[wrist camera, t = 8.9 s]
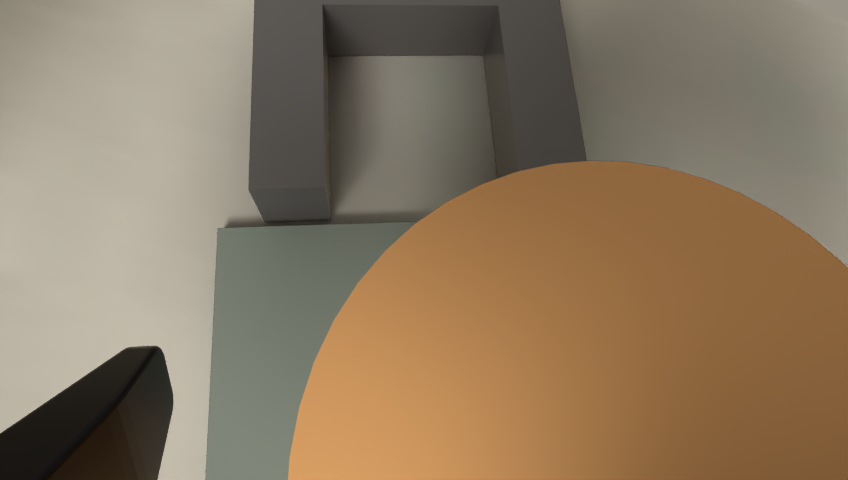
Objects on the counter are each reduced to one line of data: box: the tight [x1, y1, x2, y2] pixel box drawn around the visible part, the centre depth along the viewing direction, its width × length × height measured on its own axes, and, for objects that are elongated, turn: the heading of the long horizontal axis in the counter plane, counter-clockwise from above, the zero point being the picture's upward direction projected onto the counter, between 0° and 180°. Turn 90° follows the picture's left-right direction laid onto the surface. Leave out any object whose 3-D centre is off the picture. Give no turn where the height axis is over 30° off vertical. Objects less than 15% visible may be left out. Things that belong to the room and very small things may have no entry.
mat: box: [205, 222, 417, 480], centre depth 16 cm, size 14×12×1 cm
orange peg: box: [288, 161, 848, 480], centre depth 10 cm, size 4×4×13 cm
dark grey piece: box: [249, 0, 587, 222], centre depth 18 cm, size 8×9×2 cm
